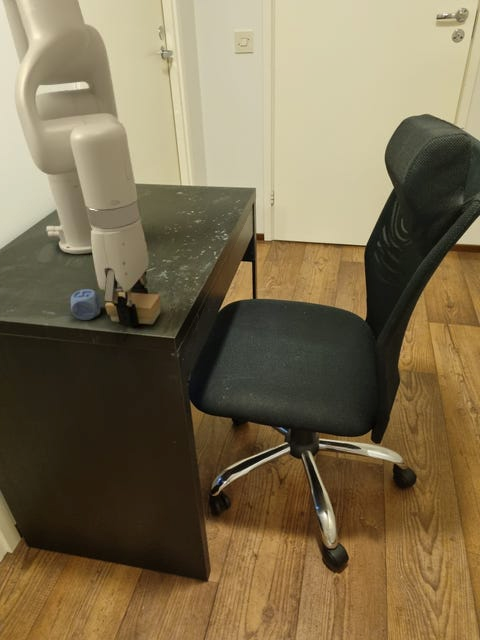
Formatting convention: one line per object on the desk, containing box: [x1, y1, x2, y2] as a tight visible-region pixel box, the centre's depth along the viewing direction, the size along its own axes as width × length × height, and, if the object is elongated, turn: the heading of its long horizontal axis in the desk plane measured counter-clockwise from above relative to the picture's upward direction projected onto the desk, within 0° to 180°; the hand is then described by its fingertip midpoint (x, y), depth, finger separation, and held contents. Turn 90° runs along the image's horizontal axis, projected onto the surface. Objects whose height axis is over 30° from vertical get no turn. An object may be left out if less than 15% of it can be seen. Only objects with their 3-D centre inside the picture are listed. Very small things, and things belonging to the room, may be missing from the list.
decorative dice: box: [70, 288, 101, 321], centre depth 81 cm, size 4×4×4 cm
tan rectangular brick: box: [105, 292, 162, 325], centre depth 79 cm, size 8×4×3 cm, turn 78°
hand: (135, 315), depth 80 cm, fingers closed on tan rectangular brick, 4 cm apart
